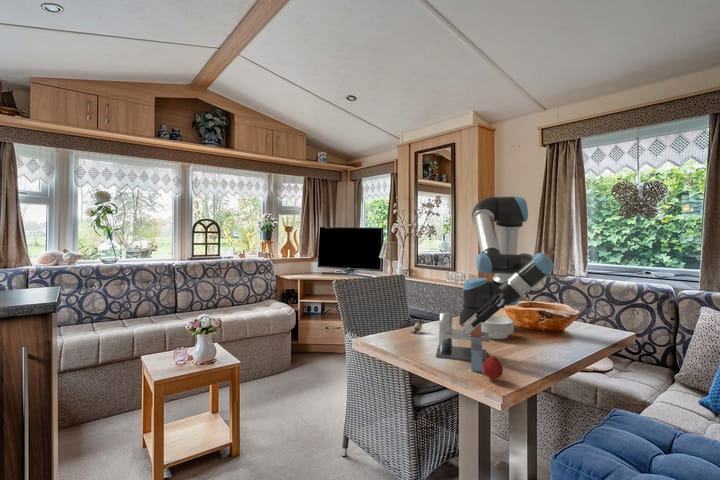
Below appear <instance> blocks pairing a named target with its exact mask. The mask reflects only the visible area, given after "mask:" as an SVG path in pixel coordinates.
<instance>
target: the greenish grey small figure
mask: <svg viewBox="0 0 720 480" xmlns="http://www.w3.org/2000/svg"><path fill="white" fill-rule="evenodd" d="M422 327H423V320H422V319H417V321H415V324H414V327H413V328H414V330H410V331H409V333H413V334H417V335H420V331H421V330H422Z"/></svg>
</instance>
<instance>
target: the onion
mask: <svg viewBox="0 0 720 480" xmlns="http://www.w3.org/2000/svg"><path fill="white" fill-rule="evenodd" d="M503 371H504V370H503V366H502V363H501V361H500V360H499V359H498V358H497V357H496V356H495V355H494V354H491V355H490V357H488V359H486V360H485V361H484V362H483V365H482V372H483V373H484V375H485V376H487V378H489V380H490V381H496V380H497V379H499V378H500V377H501V376H502V375H503Z"/></svg>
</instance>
